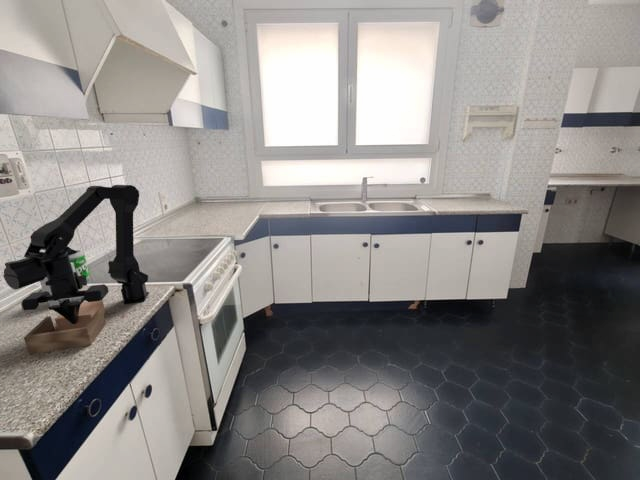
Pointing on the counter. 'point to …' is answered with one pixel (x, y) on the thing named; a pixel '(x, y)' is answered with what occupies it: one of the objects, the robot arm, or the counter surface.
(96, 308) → the terracotta block
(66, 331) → the walnut stall
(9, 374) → the counter surface
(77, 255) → the soda can
